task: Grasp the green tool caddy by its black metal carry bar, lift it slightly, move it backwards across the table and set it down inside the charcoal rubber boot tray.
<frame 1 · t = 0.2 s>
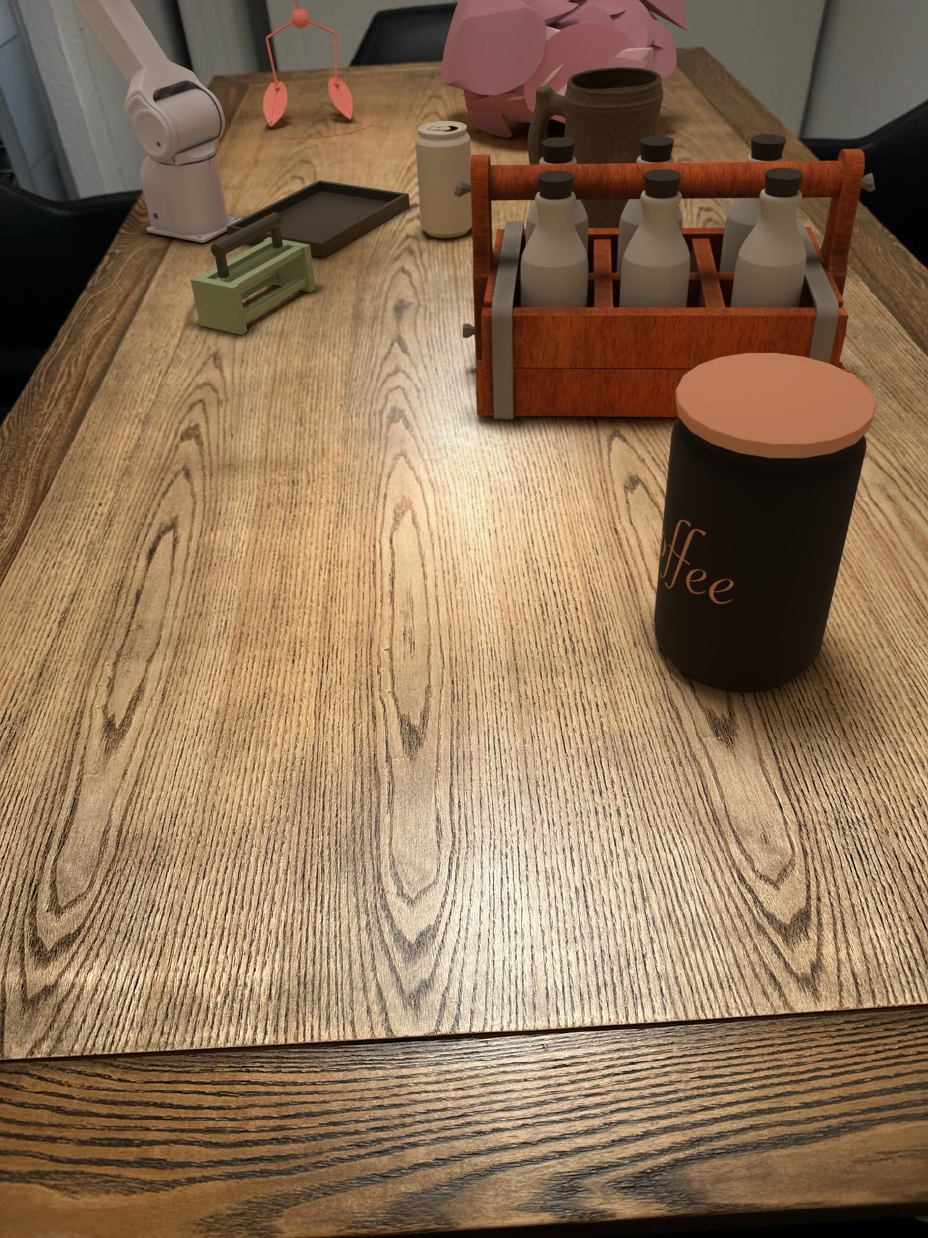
green tool caddy: (259, 306, 115), on the table
flower arrangement: (563, 129, 163), on the table
beer stein: (586, 266, 121), on the table
coffee jar: (734, 646, 70), on the table
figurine: (310, 129, 169), on the table
boot tray: (321, 223, 135), on the table
milk bottle holder: (647, 371, 101), on the table
beverage can: (447, 232, 131), on the table
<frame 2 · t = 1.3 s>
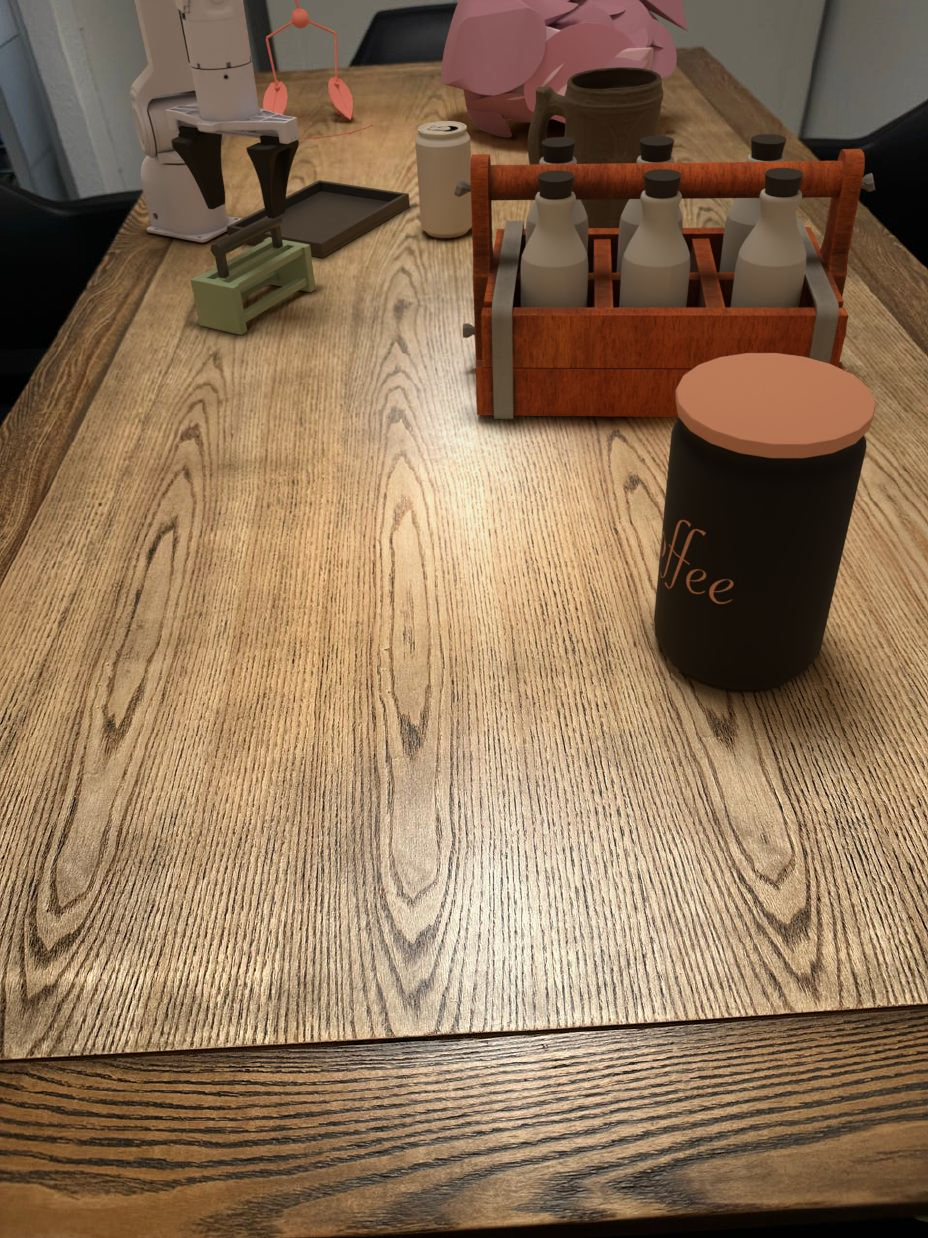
hand: (246, 210, 109), 10 cm above the table, tool pointing down, fingers open, 7 cm apart
nothing on the table moved.
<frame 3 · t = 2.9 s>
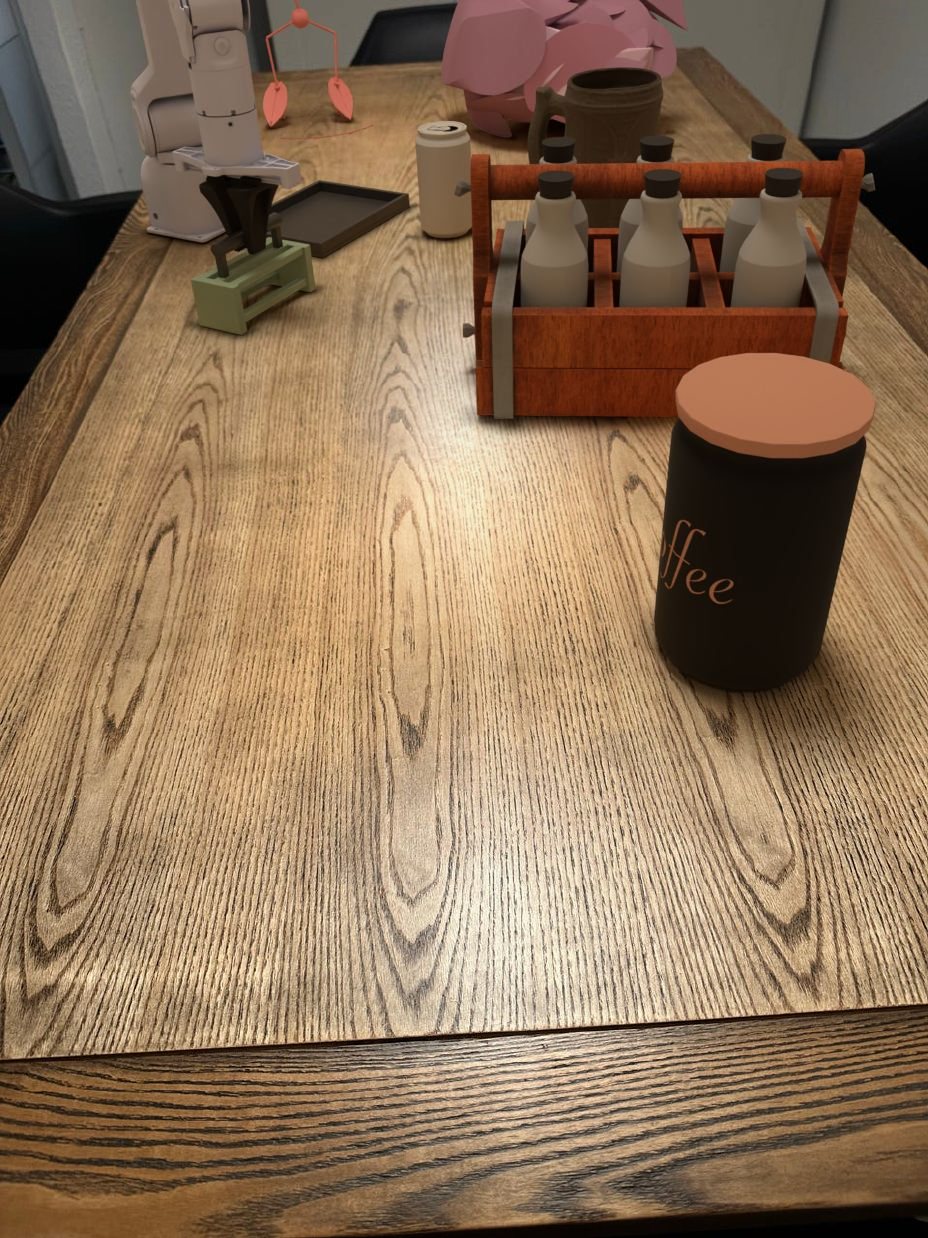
hand: (249, 249, 111), 6 cm above the table, tool pointing down, fingers closed on green tool caddy
green tool caddy: (259, 306, 115), on the table, touching gripper
everything else where it was.
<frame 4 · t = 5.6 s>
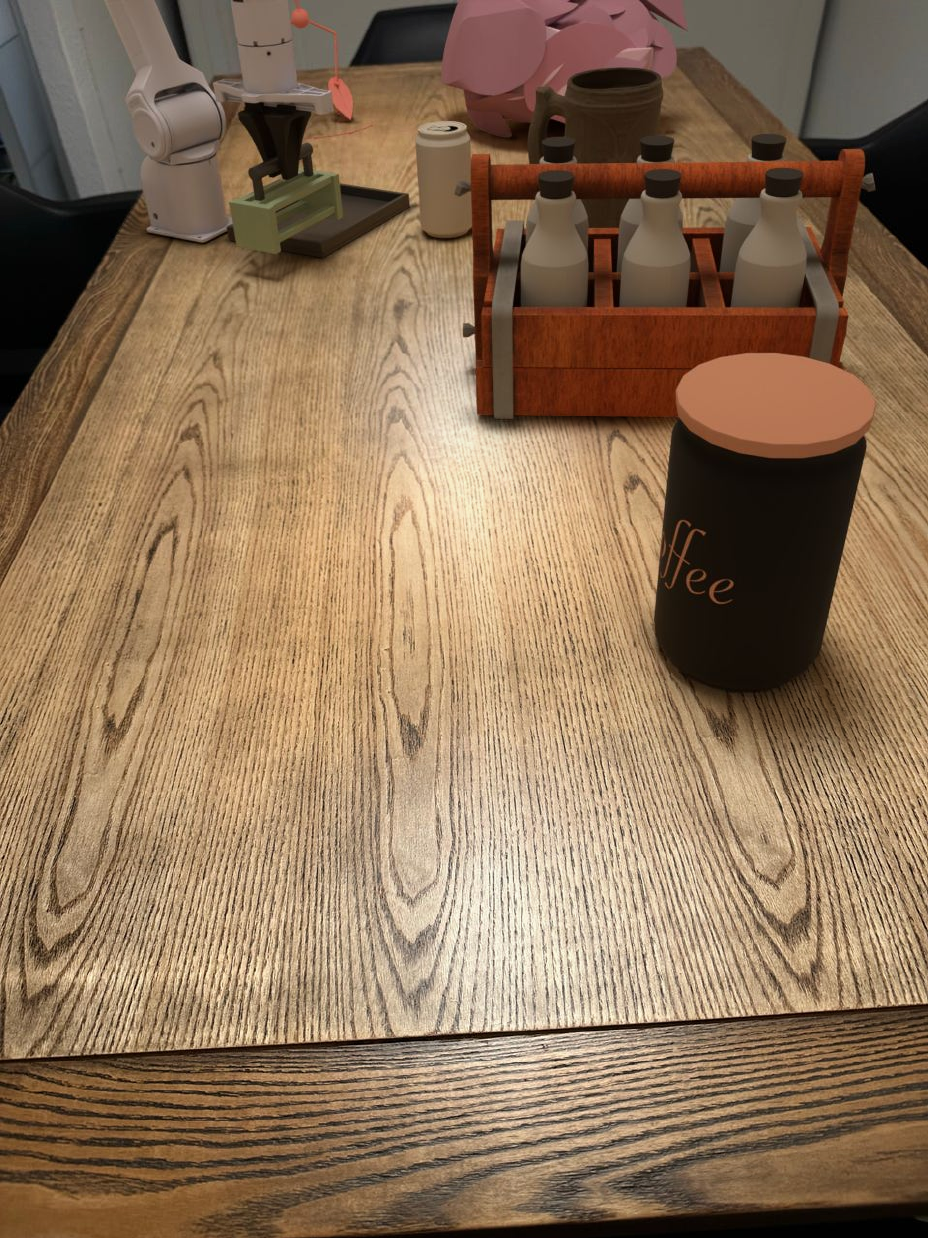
hand: (283, 175, 120), 9 cm above the table, tool pointing down, fingers closed on green tool caddy
green tool caddy: (291, 231, 124), point 3 cm above the table, touching gripper
everything else where it was.
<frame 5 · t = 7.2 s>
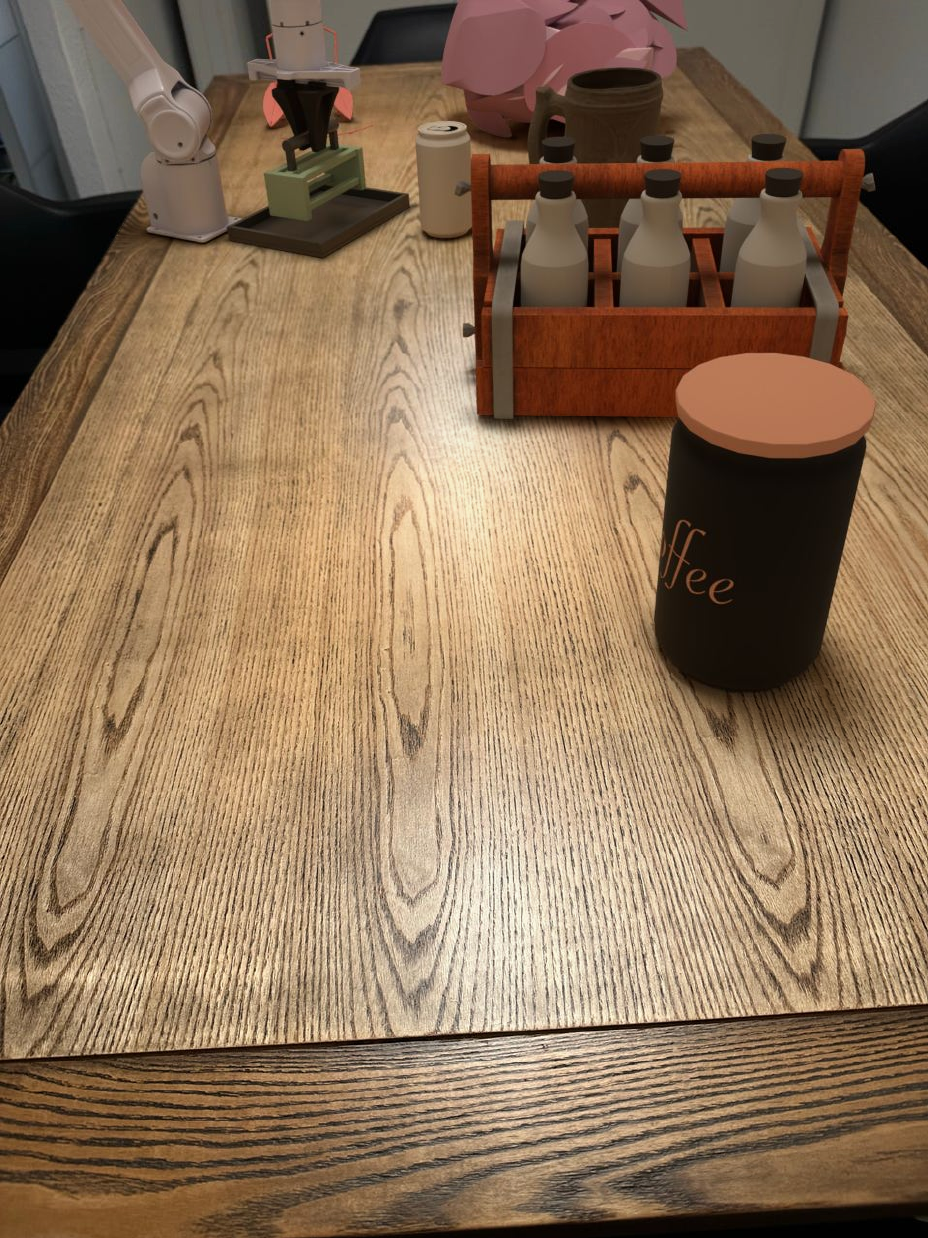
hand: (312, 148, 129), 9 cm above the table, tool pointing down, fingers closed on green tool caddy
green tool caddy: (319, 201, 133), point 3 cm above the table, touching gripper
everything else where it was.
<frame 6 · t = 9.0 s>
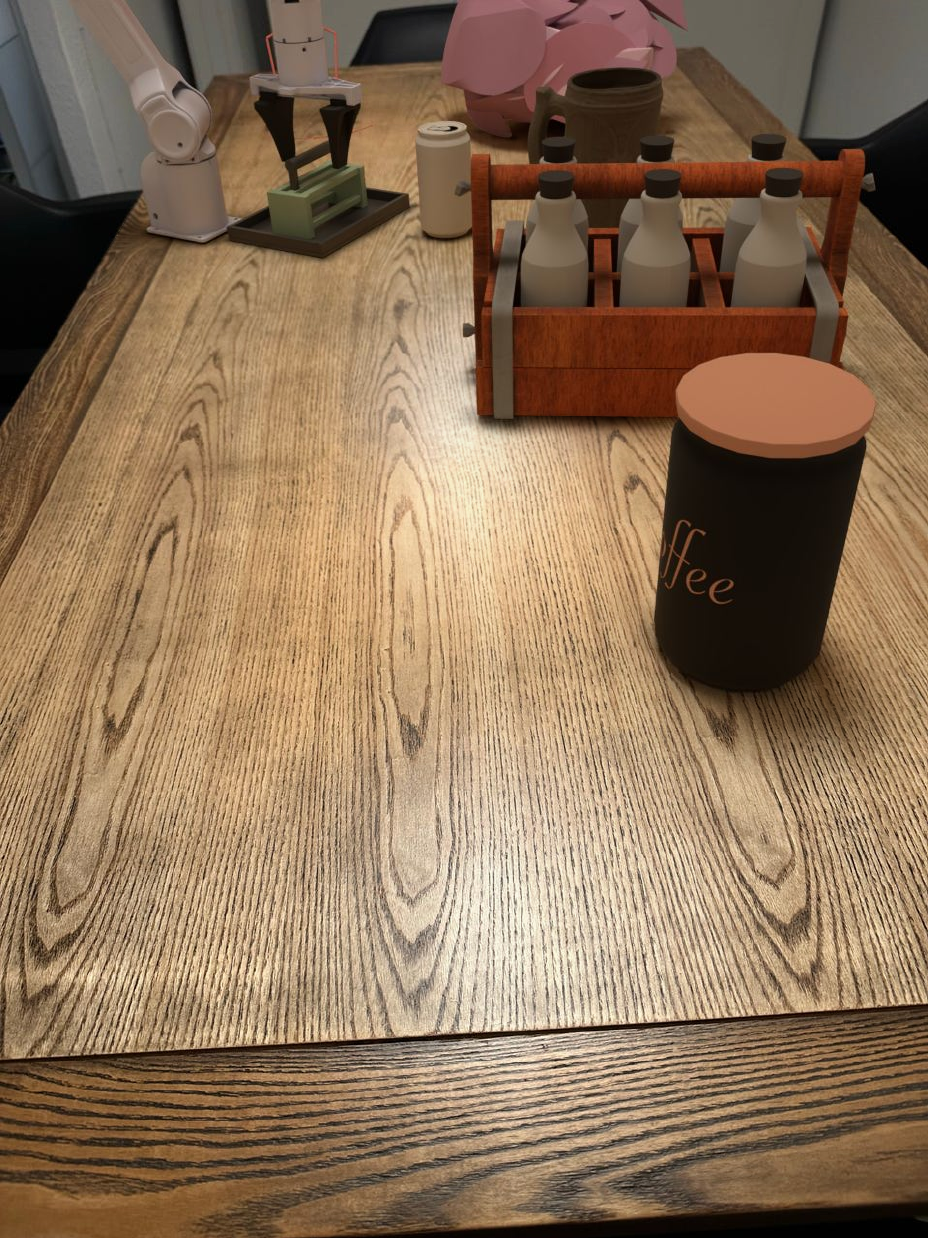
hand: (314, 162, 130), 7 cm above the table, tool pointing down, fingers open, 7 cm apart
green tool caddy: (321, 219, 134), resting on boot tray
everything else where it was.
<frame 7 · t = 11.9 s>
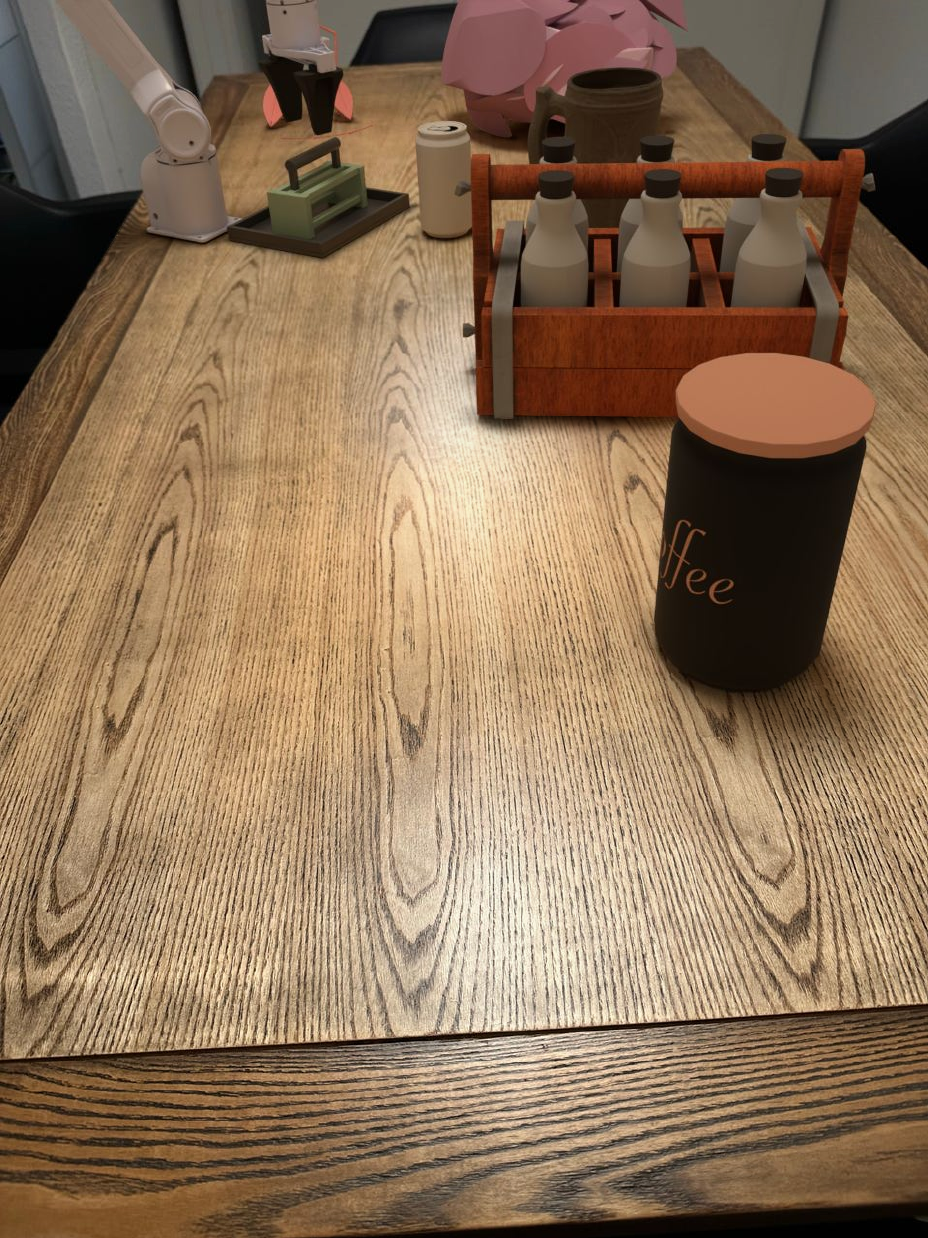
hand: (308, 126, 131), 10 cm above the table, tool pointing down, fingers open, 7 cm apart
nothing on the table moved.
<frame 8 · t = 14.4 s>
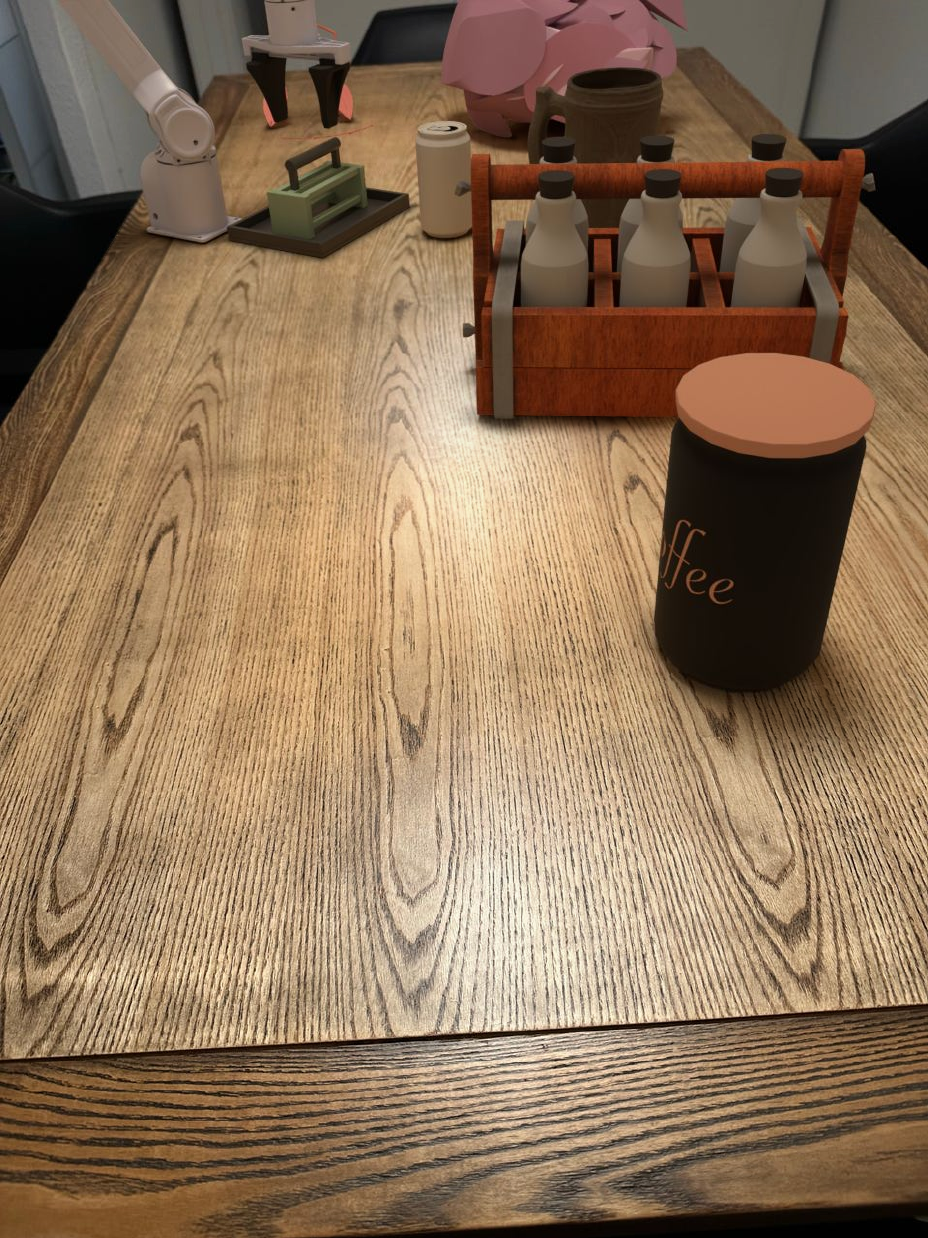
hand: (305, 123, 132), 10 cm above the table, tool pointing down, fingers open, 7 cm apart
nothing on the table moved.
at the end: green tool caddy inside the target area in the boot tray (0.0 cm from its centre), point 0.5 cm above the boot tray's base; green tool caddy tilted 0°; the gripper is holding nothing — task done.
